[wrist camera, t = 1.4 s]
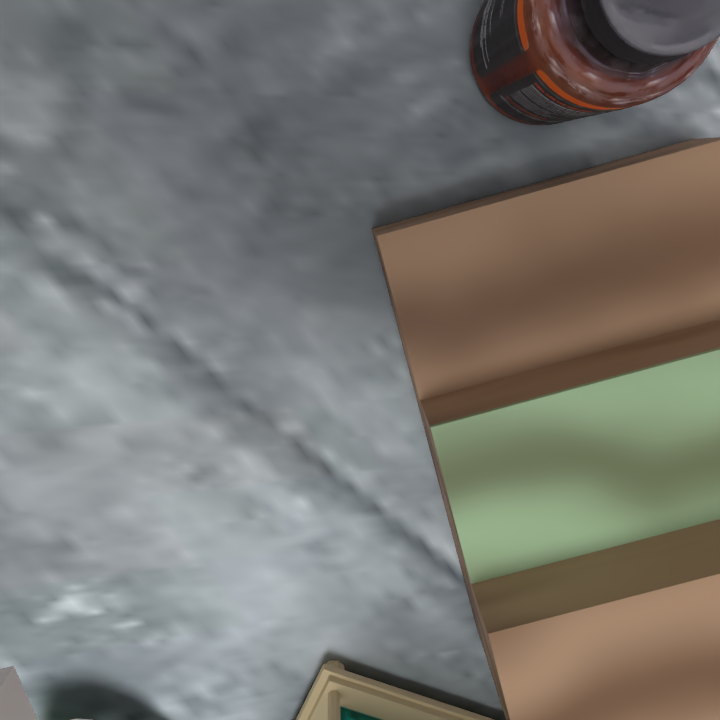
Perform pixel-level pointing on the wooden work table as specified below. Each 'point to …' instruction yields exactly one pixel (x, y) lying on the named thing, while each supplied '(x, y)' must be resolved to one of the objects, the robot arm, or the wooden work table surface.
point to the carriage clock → (371, 700)
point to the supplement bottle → (587, 53)
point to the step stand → (578, 427)
